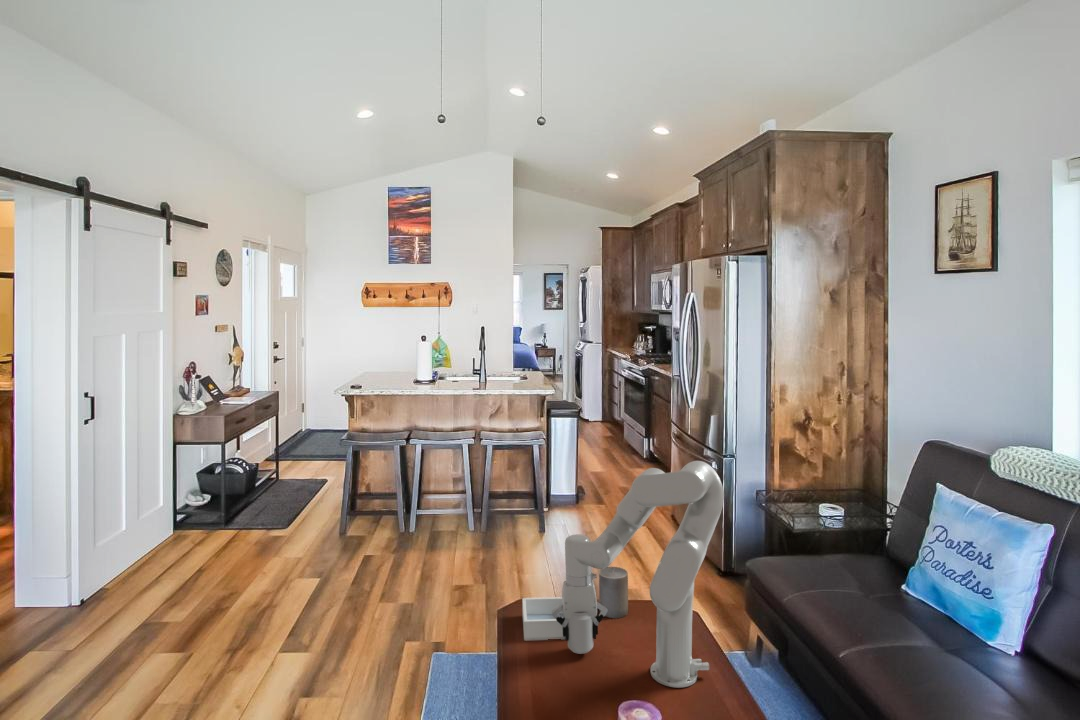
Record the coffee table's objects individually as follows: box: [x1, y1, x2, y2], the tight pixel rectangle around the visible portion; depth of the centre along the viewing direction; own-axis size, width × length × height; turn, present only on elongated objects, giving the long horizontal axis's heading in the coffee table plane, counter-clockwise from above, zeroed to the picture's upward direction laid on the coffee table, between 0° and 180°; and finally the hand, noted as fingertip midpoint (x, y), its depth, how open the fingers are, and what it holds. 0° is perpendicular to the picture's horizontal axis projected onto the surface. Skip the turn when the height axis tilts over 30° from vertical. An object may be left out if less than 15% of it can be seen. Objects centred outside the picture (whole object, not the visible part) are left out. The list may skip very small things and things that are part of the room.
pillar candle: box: [598, 566, 629, 619], centre depth 207 cm, size 10×10×15 cm
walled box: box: [521, 596, 566, 642], centre depth 197 cm, size 16×16×6 cm
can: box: [567, 612, 594, 655], centre depth 181 cm, size 8×8×12 cm
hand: (580, 637), depth 181 cm, fingers closed on can, 7 cm apart
